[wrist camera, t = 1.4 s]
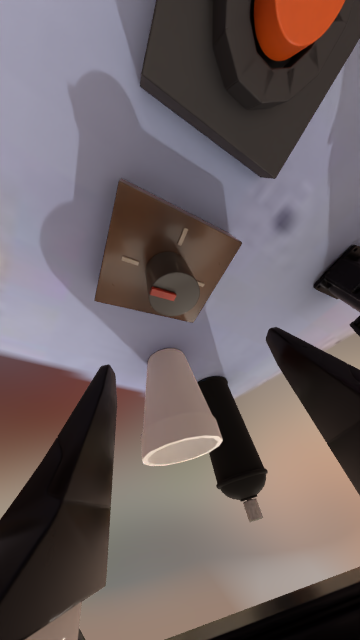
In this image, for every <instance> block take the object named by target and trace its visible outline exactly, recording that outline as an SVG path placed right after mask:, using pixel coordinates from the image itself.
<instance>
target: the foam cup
mask: <svg viewBox="0 0 360 640" xmlns="http://www.w3.org/2000/svg"><path fill="white" fill-rule="evenodd" d="M222 441H223V439H222V436H221V433H220V430H219V427H218V424H217V421H216V419H215V418H214V416H213V415H212V413H211V411H210V409H209V407H208V405H207V403H206V400H205V398H204V396H203V394H202V392H201V390H200V387H199V385H198V383H197V381H196V379H195V377H194V374H193V372H192V370H191V368H190V366H189V364H188V361H187V359H186V358H185V355H184V354H183V352H182V351H180V350H177V349H169V348H167V349H163V350H159V351H157V352H156V353H154V354H153V355H151V357H150V358H149V360H148V365H147V380H146V394H145V410H144V424H143V433H142V434H141V443H142V460H143V464H146V465H150V466H162V465H170V464H175V463H181V462H184V461H187V460H191V459H194V458H197V457H199V456H202V455H204V454H206V453H209V452H211V451H212V450H214V449H215V448H217V447H218V446H220V444H221V442H222Z"/></svg>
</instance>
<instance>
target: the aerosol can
mask: <svg viewBox="0 0 360 640" xmlns="http://www.w3.org/2000/svg"><path fill="white" fill-rule="evenodd" d="M227 384H228V382H227V380H226V379H225V378H223V377H219V376H215V377H209V378H206V379H203V380H201V381H199V382H198V385H199V387H200V390H201V392H202V394H203V396H204V398H205V400H206V403H207V405H208V407H209V409H210V411H211V413H212V415H213V416H214V418H215V419H216V421H217V424H218V427H219V430H220V433H221V436H222V439H223V441H222V442H221V444H220V446H218V447H217V448H215V449H214V450H212V451H211V452H209V454H210V457H211V462H212V465H213V469H214V473H215V476H216V480H217V483H218V484H217V488H218V489H221V491H222V492H223V493H224V494H225V495H226V496H228V497H230V498H232V499H237V500H240V501H245V500H247V501H246V502H244V503H243V504H244V507H245V510H246V513H247V516H248V519H249V521H250V522H252V521H256V520H259V519H262V518H263V516H262V513H261V511H260V508H259V505H258V503H257V500H256V499H251V498H254V497H257V494H258V493H259V492H260V491H261V490H262V488H263V487H264V485H265V481H266V473H267V470H266V469H264V467H263V464H262V462H261V460H260V457H259V455H258V453H257V451H256V448H255V446H254V444H253V442H252V440H251V437H250V435H249V432H248V430H247V428H246V426H245V423H244V421H243V419H242V417H241V414H240V412H239V410H238V408H237V405H236V403H235V401H234V398H233V396H232V394H231V392H230V389H229V387H228V385H227Z"/></svg>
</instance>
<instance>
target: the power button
mask: <svg viewBox="0 0 360 640" xmlns="http://www.w3.org/2000/svg"><path fill="white" fill-rule="evenodd" d="M344 2H345V0H254V25H255V31H256V36H257V40H258V42H259V45H260V47H261V49H262V51H263V52H264V54H265V55H266V56H267V57H268V58H270V59H272V60H274V61H284V60H287V59H289V58H290V57H292V56H294V55H295V54H297V53H298V52H300V51H301V50H303V49H304V48H306V47H307V46H309V45H310V44H312V43H314V42H315V41H316V40H318V39H319V38H320V37H321V36H322V35H323V34H324V33H325V32H326V31H327V29H328V28H329V27H330V26H331V24H332V23H333V21H334V20H335V18H336V17H337V15H338V13H339V12H340V10H341V8H342V6H343V4H344Z"/></svg>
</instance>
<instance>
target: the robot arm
mask: <svg viewBox="0 0 360 640" xmlns="http://www.w3.org/2000/svg"><path fill="white" fill-rule="evenodd" d="M314 288H315V289H316V290H318V291H321V292H323V293H325V294H327V295H329V296H331V297H333V298H336V299H340V300H342V301H343V302H345V303H346V304H348V305H350V306H351V307H353V308H354V309H356V310H357V311H359V312H360V247H359V246H357V245H353V246H352V247H350V248H349V249H348V251H347V252H346V253H345V254H344V255H343V256H342V257H341V258H340V259H339V260H338V261H337V262H336V263H335V264H334V265H333V266H332V267H331V268H330V269H329V270H328V271H327V272H326V274H325V275H324V276H323V277H322V278H321V279H320V280H319V281H318V282H317V283H316V284H315V285H314ZM350 326H351V327H352V328H353V329H354V331H355V332H356V333H357V334H358V335H359V336H360V316H359V317H358V318H357V319H356V320H355V321H354V322H352V323H351V324H350ZM266 342H267V344H268V346H269V348H270V350H271V352H272V354H273V356H274V358H275V360H276V362H277V364H278V366H279V368H280V369H281V371H282V372H283V374H284V376H285V377H286V379H287V380H288V382H289V384H290V385H291V387H292V388H293V390H294V392H295V393H296V395H297V396H298V398H299V399H300V401H301V403H302V404H303V406H304V407H305V409H306V411H307V412H308V414H309V415H310V417H311V419H312V420H313V422H314V423H315V425H316V426H317V428H318V430H319V431H320V433H321V434H322V436H323V438H324V439H325V441H326V442H327V444H328V446H329V447H330V449H331V451H332V452H333V454H334V455H335V457H336V459H337V460H338V462H339V463H340V465H341V466H342V468H343V469H344V471H345V473H346V474H347V476H348V478H349V479H350V481H351V482H352V484H353V485H354V487H355V489H356V490H357V492H358V493H359V495H360V370H359V369H357V368H355V367H353V366H351V365H349V364H347V363H345V362H343V361H341V360H340V359H338V358H336V357H334V356H332V355H330V354H328V353H326V352H324V351H322V350H320V349H318V348H316V347H314V346H313V345H311V344H309V343H307V342H305V341H303V340H301V339H299V338H297V337H295V336H293V335H291V334H289V333H287V332H285V331H284V330H282V329H280V328H277V327H274V328H270V329H269V330H268V333H267V336H266ZM116 411H117V395H116V377H115V373H114V371H113V369H112V368H111V366H110V365H104V366H101V367H100V369H99V370H98V372H97V373H96V375H95V377H94V378H93V380H92V381H91V383H90V385H89V386H88V388H87V390H86V391H85V393H84V395H83V396H82V398H81V399H80V401H79V403H78V404H77V406H76V408H75V409H74V411H73V412H72V414H71V416H70V417H69V419H68V420H67V422H66V424H65V425H64V427H63V429H62V430H61V432H60V433H59V435H58V438H56V440H55V441H54V443H53V445H52V446H51V448H50V449H49V451H48V453H47V454H46V456H45V457H44V459H43V461H42V462H41V464H40V465H39V466H38V468H37V469H36V471H35V472H34V473H33V475H32V476H31V478H30V479H29V481H28V482H27V483H26V485H25V486H24V487H23V489H22V490H21V492H20V493H19V495H18V496H17V497H16V499H15V500H14V501H13V503H12V504H11V506H10V507H9V508H8V510H7V511H6V513H5V514H4V515H3V517H2V518H1V520H0V640H85V638H84V636H83V635H82V633H81V631H80V629H79V623H80V614H81V604H82V601H84V600H85V599H87V598H88V597H90V596H91V595H93V594H94V593H96V592H97V591H99V590H100V589H102V588H103V587H105V585H106V574H107V558H108V541H109V526H110V510H111V507H110V506H111V492H112V475H113V459H114V445H115V444H114V443H115V429H116ZM165 640H360V567H358V568H355V569H352V570H350V571H347V572H344V573H342V574H339V575H336V576H334V577H331V578H328V579H326V580H323V581H320V582H318V583H315V584H312V585H310V586H307V587H304V588H302V589H299V590H296V591H294V592H291V593H288V594H285V595H283V596H280V597H278V598H275V599H273V600H269V601H267V602H264V603H261V604H259V605H256V606H254V607H251V608H248V609H245V610H243V611H240V612H238V613H235V614H232V615H229V616H227V617H224V618H222V619H219V620H216V621H213V622H211V623H208V624H205V625H203V626H200V627H197V628H195V629H192V630H189V631H187V632H185V633H181V634H179V635H176V636H173V637H171V638H168V639H165Z"/></svg>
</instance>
